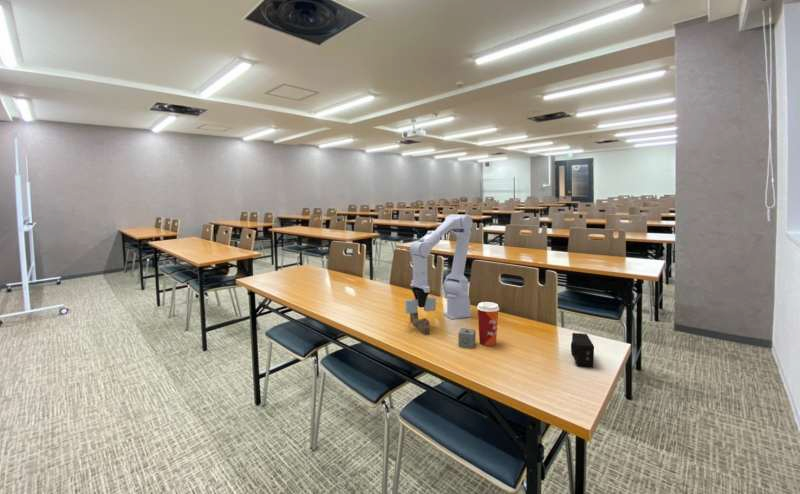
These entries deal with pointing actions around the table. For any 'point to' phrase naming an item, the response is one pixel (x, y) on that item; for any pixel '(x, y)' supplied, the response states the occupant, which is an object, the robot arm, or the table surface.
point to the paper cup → (487, 322)
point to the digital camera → (582, 350)
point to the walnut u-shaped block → (420, 323)
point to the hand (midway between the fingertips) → (420, 306)
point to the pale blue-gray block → (413, 305)
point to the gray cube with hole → (466, 338)
